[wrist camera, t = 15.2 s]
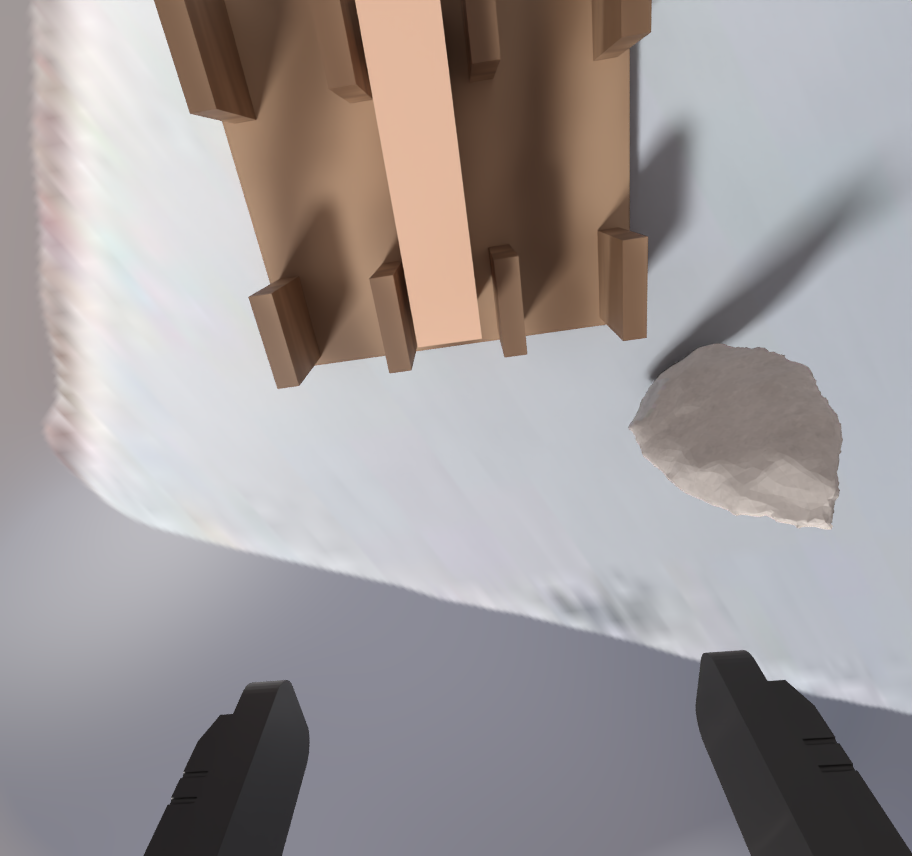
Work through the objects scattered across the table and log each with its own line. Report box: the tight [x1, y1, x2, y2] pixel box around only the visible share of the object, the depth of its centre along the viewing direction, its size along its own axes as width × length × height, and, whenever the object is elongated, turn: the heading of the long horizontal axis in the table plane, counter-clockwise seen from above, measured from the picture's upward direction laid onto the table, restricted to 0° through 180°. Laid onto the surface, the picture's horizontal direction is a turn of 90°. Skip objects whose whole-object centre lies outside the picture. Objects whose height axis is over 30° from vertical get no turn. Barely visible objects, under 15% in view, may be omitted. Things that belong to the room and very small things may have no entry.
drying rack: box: [154, 0, 652, 389], centre depth 26 cm, size 21×19×6 cm
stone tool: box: [628, 343, 843, 530], centre depth 28 cm, size 9×3×15 cm, turn 137°
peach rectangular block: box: [355, 0, 482, 347], centre depth 25 cm, size 3×14×8 cm, turn 8°
